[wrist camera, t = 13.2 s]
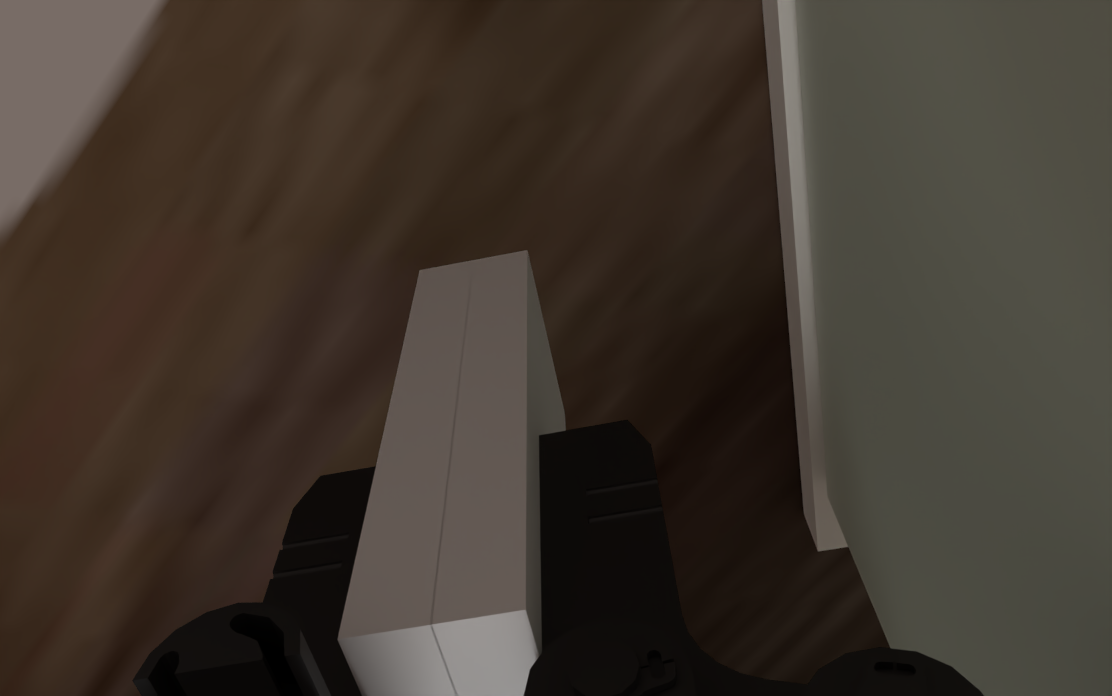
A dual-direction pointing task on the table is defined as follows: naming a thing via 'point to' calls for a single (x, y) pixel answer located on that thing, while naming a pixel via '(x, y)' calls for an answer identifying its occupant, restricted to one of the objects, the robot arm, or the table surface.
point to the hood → (968, 324)
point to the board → (798, 264)
